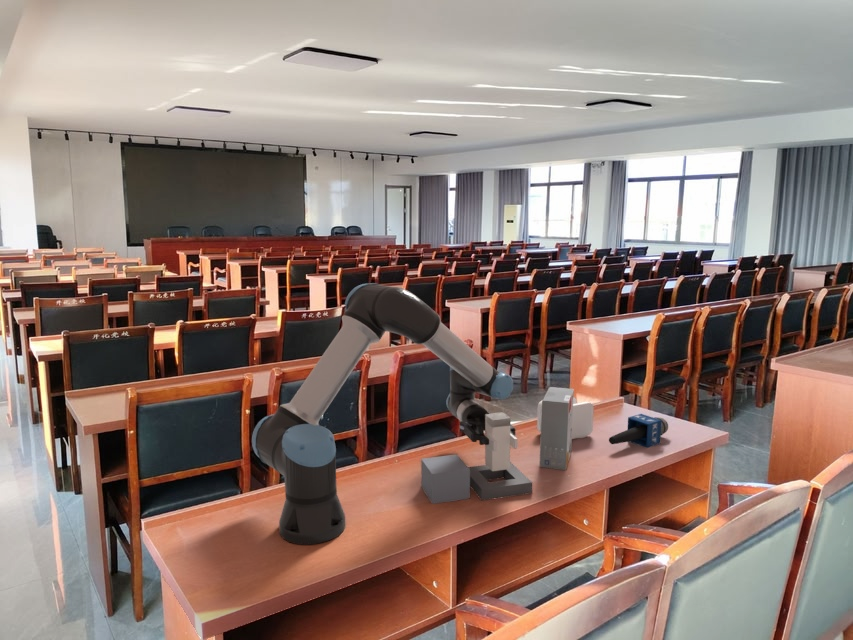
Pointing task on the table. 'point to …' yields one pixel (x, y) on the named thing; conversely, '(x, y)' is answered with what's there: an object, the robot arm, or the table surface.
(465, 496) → the stand
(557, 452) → the hard drive box
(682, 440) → the table surface
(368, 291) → the robot arm
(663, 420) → the microphone
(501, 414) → the plug
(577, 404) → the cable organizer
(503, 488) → the socket block
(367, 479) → the table surface
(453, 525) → the table surface
